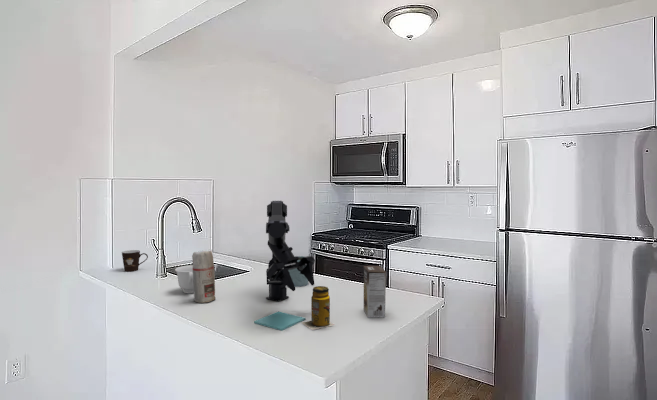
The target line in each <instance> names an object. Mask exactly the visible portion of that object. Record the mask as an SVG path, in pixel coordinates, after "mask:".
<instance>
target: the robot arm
mask: <svg viewBox="0 0 657 400" xmlns="http://www.w3.org/2000/svg"><path fill="white" fill-rule="evenodd" d="M266 217H268V220H267V222H266V224H265V234H267V236H268V240H267V246H268V248H269V249H270V251H271V253H272V255H271V259H270V260H269V262H268V265H267V266H268V267H267V269H266V271H265V272H266V273H265V275H266V285H267V286H268V296H267V297H266V298H265V299H266V300H270V301H274V302H281V301H283V300H286V299H288V298H289V295H287V291H288V290H287V288H289V290H291V291H292V292H295V291H296V287H295V286H294V283H293V281H292V278H291V276H290V272H289V271H288V270H292V269H296V268H297V269H298V271H300V274H303V275H304V276H305V277H306V278H307V280H308V284H310V285H311V286H314V285H315V278H314V268H313V267H314V264H315V262H316V259H315V258H314V257H313V255H312V256H311V255H307V256H305V257H303V258H302V259H301V260H300V262H297V260H298V259H299V258H298V256H297V255H296V257H295V254H294V253H293V250H294V249H293V246H288V243H287V242H286V234H288V233H289V232H290V225H289V223H288V222H287V221H286V217H288V205H287V204H285V203H284V201H282V200H272V201H270V203H268V204H267V205H266Z"/></svg>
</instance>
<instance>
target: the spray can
mask: <svg viewBox="0 0 657 400" xmlns="http://www.w3.org/2000/svg"><path fill="white" fill-rule="evenodd" d="M191 258H192V265H193V285H194V293H193V297H194V302H195V303H198V304H199V303H200V304H202V303H203V304H204V303H209V302H210V303H211V302H212V301H214V300H216V284H215V283H216V278H215V276H216V275H215V274H216V273H215V264H214V256H213V250H212V249H204V250H198V251H193V253H192V255H191Z"/></svg>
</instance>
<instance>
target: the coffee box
mask: <svg viewBox="0 0 657 400" xmlns="http://www.w3.org/2000/svg"><path fill="white" fill-rule="evenodd" d="M362 266H363V267H362V268H363V310H364V312H365V314H366V317H367V318H385V317H386V289H387V287H386V285H387V284H386V283H387V282H386V281H387V280H386V279H387V272H386V270H385V269H384V268H383V267H382V266H381V265H362Z"/></svg>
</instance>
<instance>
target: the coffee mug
mask: <svg viewBox="0 0 657 400" xmlns="http://www.w3.org/2000/svg"><path fill="white" fill-rule="evenodd" d="M143 255H145V256H146V258H145V259H144V260H143V261H142V262H140V258H141V256H143ZM121 257H122V264H123V268H124V272H125V273H133V272H138V271H139V266H140V265H141V264H143V263H145V262H146V261H147V260H148V258H149V256H148V254H147V253H145V252H143V253H141V251H140V250H137V249H131V250H130V249H129V250H124V251H121Z"/></svg>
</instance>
